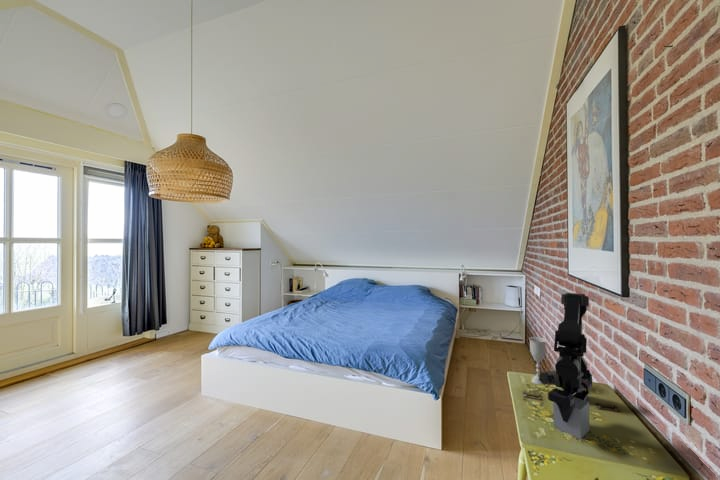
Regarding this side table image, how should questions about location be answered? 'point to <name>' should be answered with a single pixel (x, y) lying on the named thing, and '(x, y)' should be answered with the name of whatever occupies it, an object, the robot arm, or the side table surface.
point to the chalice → (537, 354)
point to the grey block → (574, 419)
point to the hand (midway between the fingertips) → (570, 417)
